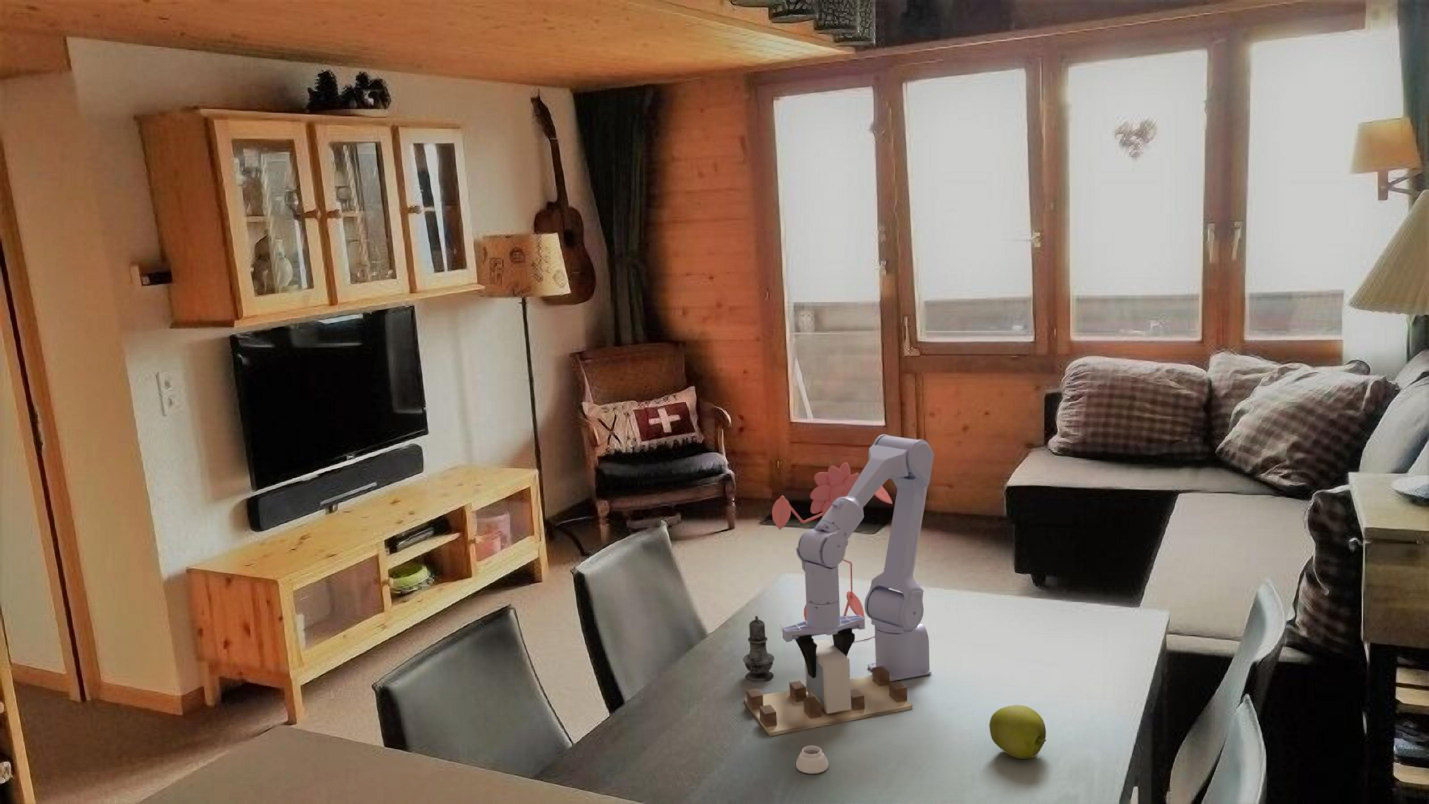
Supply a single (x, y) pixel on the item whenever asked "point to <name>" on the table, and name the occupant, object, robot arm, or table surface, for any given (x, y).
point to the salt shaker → (758, 654)
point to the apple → (1018, 731)
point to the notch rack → (806, 712)
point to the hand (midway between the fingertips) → (825, 673)
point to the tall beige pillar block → (830, 678)
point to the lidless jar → (812, 760)
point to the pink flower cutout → (823, 497)
